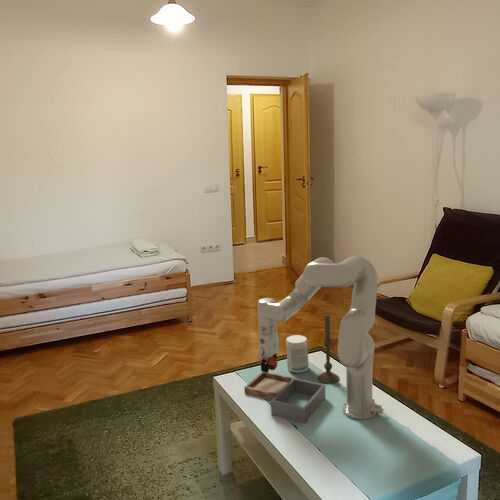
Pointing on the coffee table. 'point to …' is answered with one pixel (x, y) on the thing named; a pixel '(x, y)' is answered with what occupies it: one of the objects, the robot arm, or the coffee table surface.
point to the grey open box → (293, 411)
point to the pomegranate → (271, 362)
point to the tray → (267, 385)
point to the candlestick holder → (328, 356)
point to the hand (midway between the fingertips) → (269, 367)
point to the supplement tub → (297, 353)
